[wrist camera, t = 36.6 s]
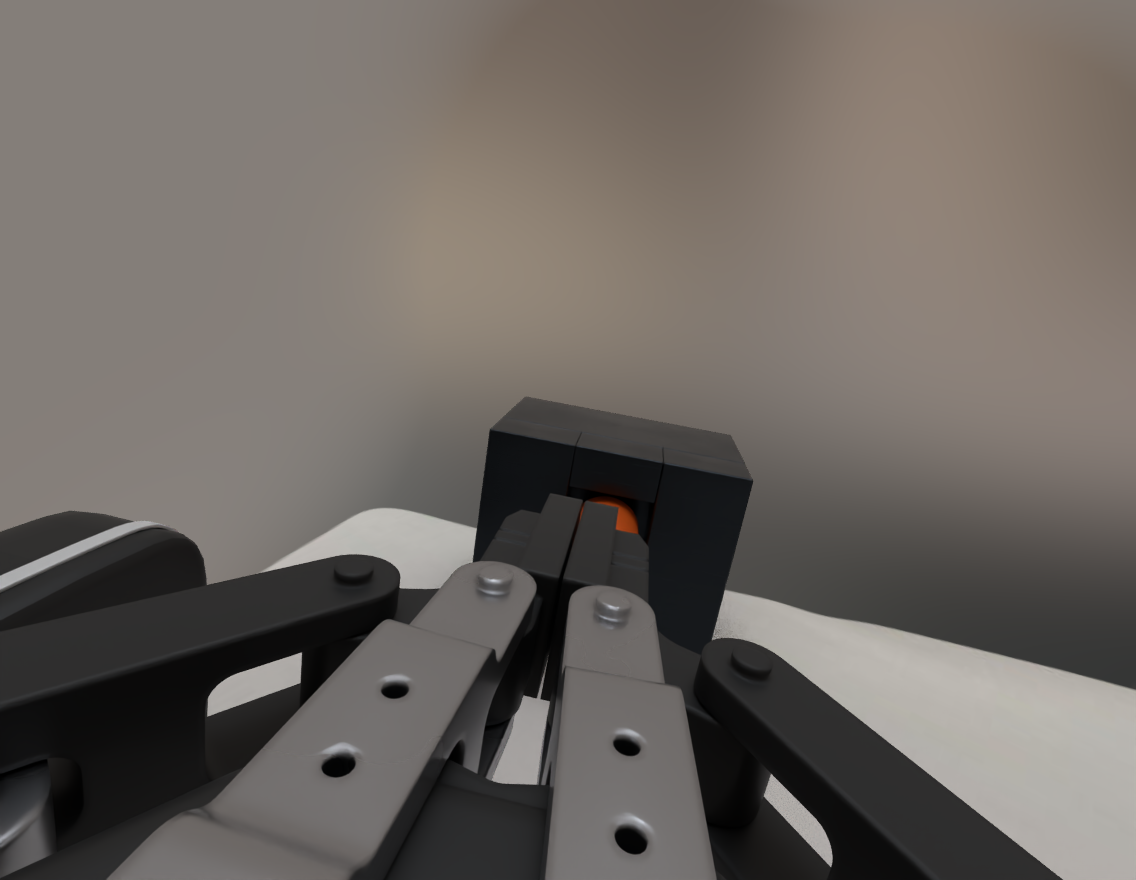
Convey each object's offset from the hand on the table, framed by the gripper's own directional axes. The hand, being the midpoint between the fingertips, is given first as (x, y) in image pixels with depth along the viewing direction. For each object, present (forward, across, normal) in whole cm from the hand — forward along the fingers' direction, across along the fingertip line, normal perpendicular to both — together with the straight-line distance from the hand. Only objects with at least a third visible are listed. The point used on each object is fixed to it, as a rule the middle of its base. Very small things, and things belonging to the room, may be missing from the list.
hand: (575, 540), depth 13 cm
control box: (+18, -1, +13) cm, 22 cm away
